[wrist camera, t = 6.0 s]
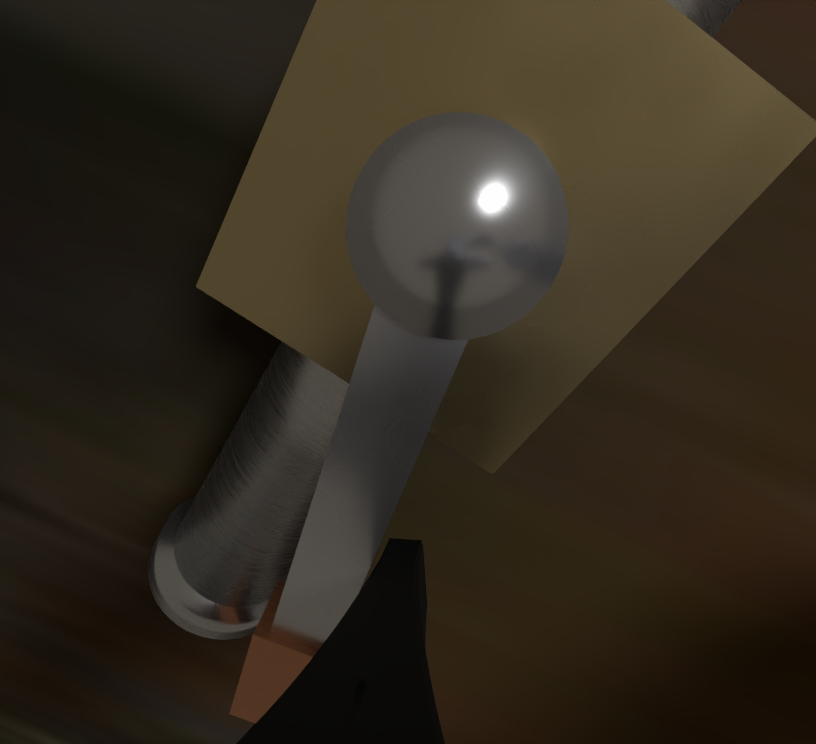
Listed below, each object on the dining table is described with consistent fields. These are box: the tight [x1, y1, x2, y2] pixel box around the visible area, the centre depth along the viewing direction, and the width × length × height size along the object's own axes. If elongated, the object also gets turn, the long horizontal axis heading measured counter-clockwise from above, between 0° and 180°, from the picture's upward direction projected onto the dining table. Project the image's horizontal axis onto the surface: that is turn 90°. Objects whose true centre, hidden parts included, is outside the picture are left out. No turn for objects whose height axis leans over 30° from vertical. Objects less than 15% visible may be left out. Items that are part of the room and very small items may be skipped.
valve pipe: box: [148, 0, 816, 640], centre depth 10 cm, size 6×26×5 cm, turn 148°
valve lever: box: [230, 112, 569, 723], centre depth 9 cm, size 14×3×1 cm, turn 161°
